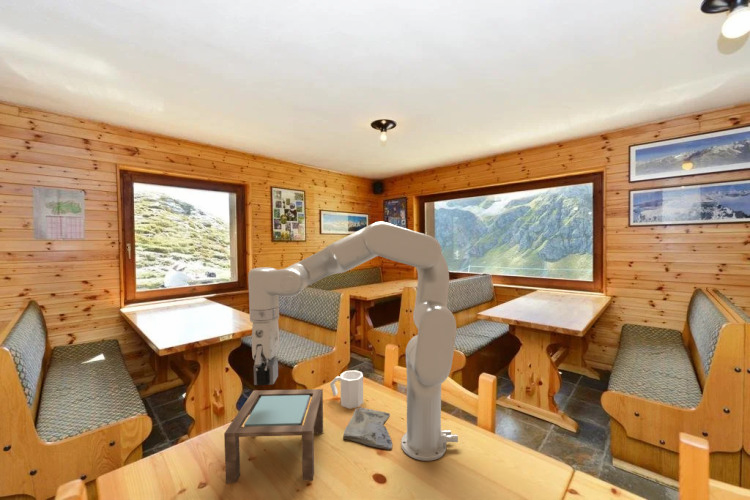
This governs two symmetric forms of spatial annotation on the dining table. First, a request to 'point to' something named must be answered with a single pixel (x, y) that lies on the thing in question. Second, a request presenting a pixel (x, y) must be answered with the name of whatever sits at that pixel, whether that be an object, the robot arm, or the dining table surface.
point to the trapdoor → (279, 411)
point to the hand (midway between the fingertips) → (266, 378)
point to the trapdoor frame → (275, 431)
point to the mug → (350, 388)
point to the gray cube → (272, 371)
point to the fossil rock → (369, 428)
